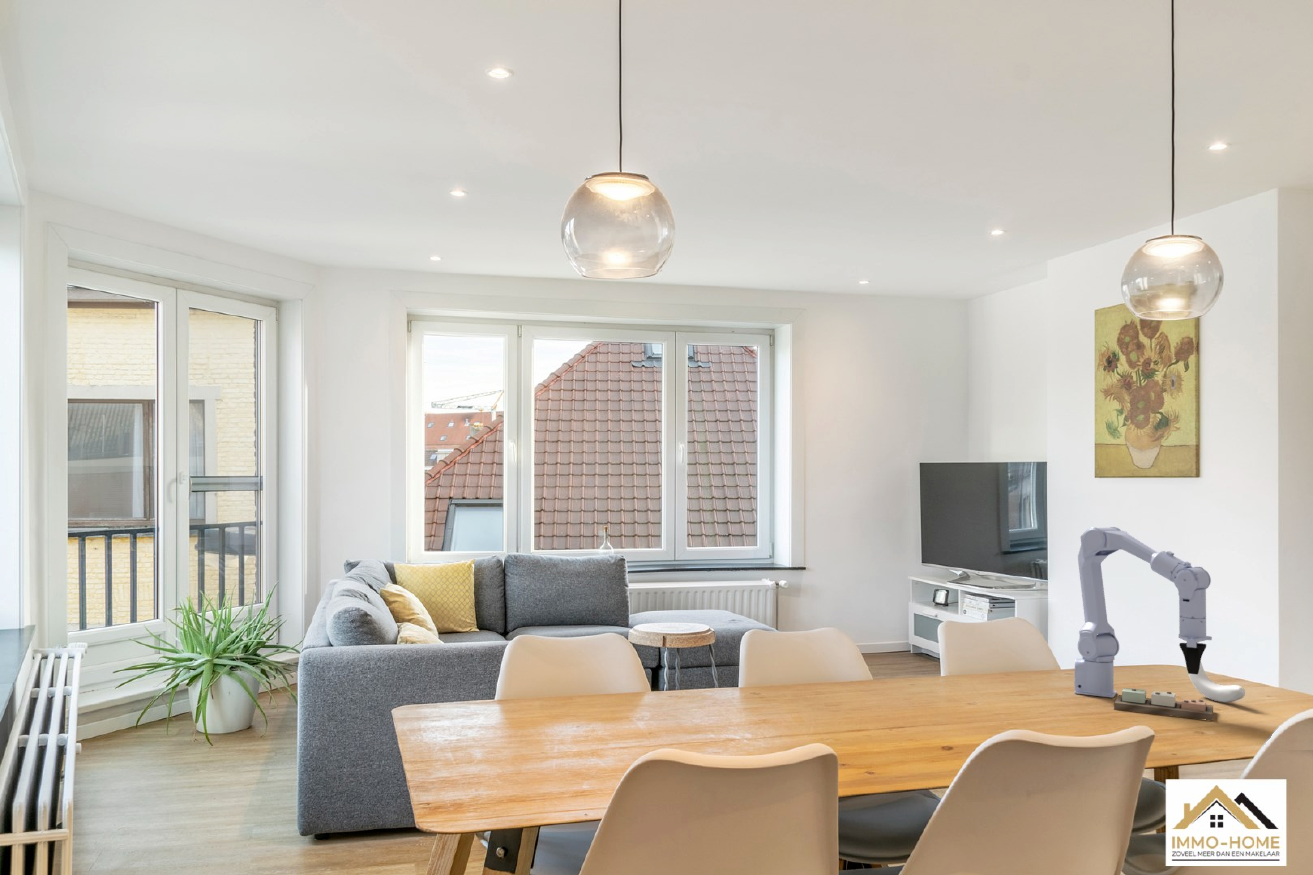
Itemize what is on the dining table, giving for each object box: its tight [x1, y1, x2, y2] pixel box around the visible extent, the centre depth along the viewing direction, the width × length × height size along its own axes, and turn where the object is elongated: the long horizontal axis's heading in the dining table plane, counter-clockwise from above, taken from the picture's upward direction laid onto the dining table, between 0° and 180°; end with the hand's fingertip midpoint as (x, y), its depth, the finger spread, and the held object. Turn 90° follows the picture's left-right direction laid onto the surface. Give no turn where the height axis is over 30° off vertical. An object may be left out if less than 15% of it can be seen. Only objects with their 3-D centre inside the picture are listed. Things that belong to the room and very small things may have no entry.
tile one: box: [1121, 687, 1147, 703], centre depth 243 cm, size 5×5×3 cm
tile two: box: [1150, 690, 1177, 707], centre depth 240 cm, size 5×5×3 cm
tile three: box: [1180, 698, 1207, 711], centre depth 237 cm, size 5×5×3 cm
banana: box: [1186, 661, 1246, 703], centre depth 252 cm, size 5×19×15 cm, turn 15°
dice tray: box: [1113, 694, 1214, 722], centre depth 240 cm, size 21×11×2 cm, turn 59°
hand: (1193, 673), depth 237 cm, fingers closed
